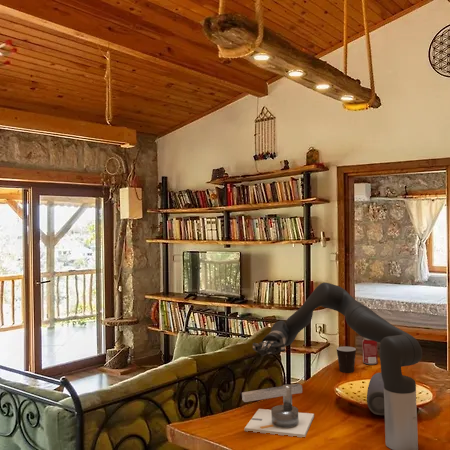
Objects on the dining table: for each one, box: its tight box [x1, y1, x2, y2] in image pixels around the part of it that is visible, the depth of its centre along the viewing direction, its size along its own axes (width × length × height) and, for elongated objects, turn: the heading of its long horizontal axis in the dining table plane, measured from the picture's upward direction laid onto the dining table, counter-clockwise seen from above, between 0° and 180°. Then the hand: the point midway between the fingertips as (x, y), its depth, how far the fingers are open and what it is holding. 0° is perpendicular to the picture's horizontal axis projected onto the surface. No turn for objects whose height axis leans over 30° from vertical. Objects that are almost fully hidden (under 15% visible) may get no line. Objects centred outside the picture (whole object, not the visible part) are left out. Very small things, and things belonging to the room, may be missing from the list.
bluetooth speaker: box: [366, 372, 385, 416], centre depth 185 cm, size 23×9×10 cm, turn 161°
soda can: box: [361, 337, 379, 366], centre depth 241 cm, size 7×7×12 cm
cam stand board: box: [244, 408, 315, 438], centre depth 172 cm, size 20×18×1 cm
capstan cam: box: [241, 383, 303, 427], centre depth 169 cm, size 21×9×12 cm, turn 110°
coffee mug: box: [336, 346, 357, 374], centre depth 229 cm, size 12×9×10 cm
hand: (262, 352), depth 180 cm, fingers closed
